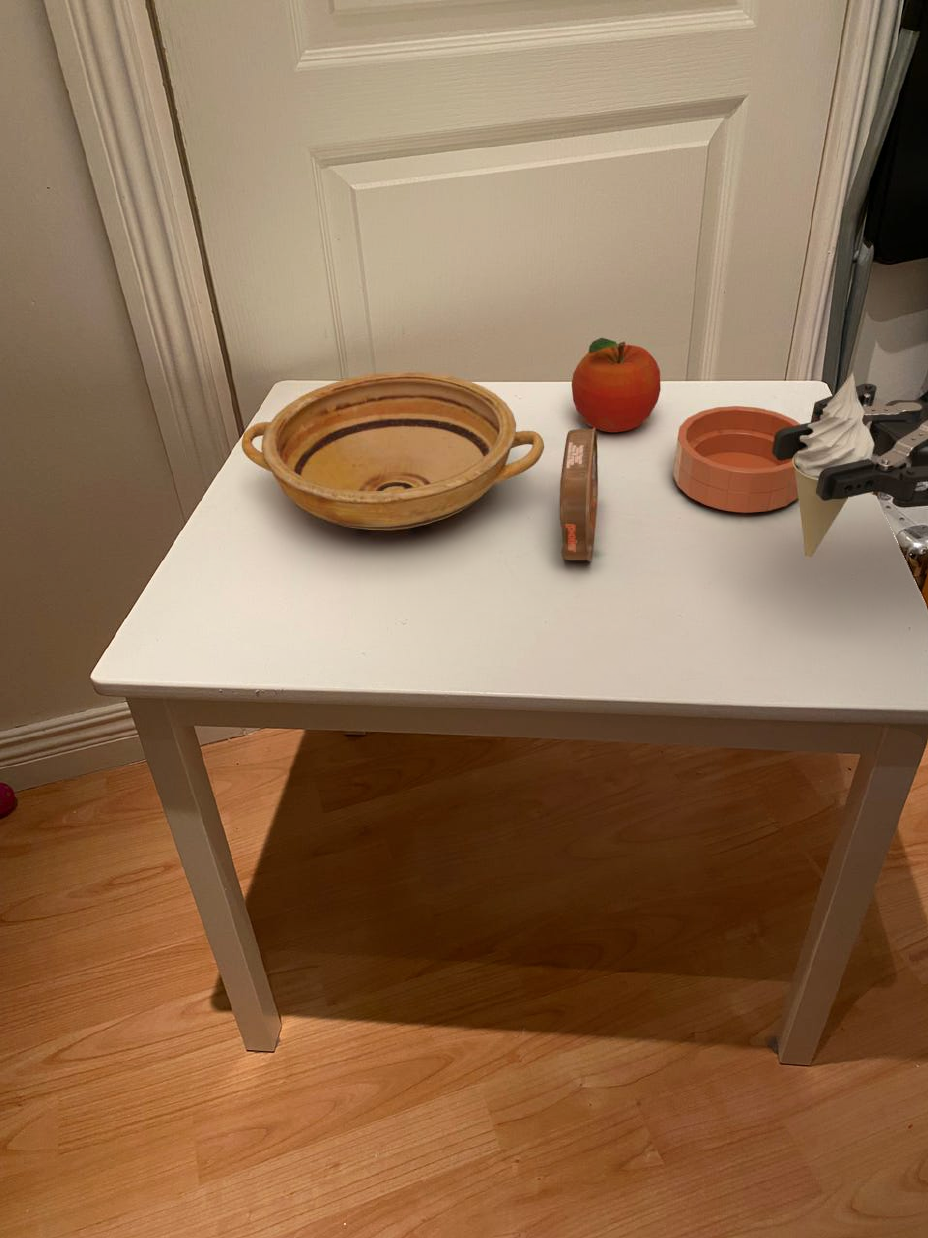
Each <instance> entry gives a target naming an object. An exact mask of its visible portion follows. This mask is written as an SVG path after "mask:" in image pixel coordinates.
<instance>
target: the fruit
mask: <svg viewBox="0 0 928 1238" xmlns="http://www.w3.org/2000/svg"><path fill="white" fill-rule="evenodd" d="M661 385H662V384H661V370H660V367H659V365H658V361H656V359H655V358H654V356H653V355H652V354H651V353H650V352H649V351H648V350H647V349H645V348H643V347H642V346H637V345H632V344H626V341H622V342H619V343H617V341H614V340H612V339H608V338H604V337H599V338H597V339H595V340H593V341H592V342H591V344H590V345H589V347H588V352H587V353H586V354H585V355H584V356H583V357H582V358H581V359H580V361H579V362H578V364H577V365H576V367H575V369H574V372H573V373H572V379H571V392H572V393H571V394H572V401H573V403H574V406H575V409H576V411H577V412H578V414H579V415H580V416H581V418H582V419H583V420H584V423H586V424H587V425H589V426H590V427H592V428H596V430H599V431H602V432H607V433H620V432H621V433H622V432H626V431H631V430H633V429H636V428H638V427H639V426H640V425H642V424H643V423H644V422H645V421H646V420H647V419H649V417H650V416H651V414H652V412H653V411H654V409H655V407H656V405H657V403H658V401H659V398H660V393H661V390H662V388H661V387H662V386H661Z"/></svg>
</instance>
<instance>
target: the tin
mask: <svg viewBox="0 0 928 1238" xmlns="http://www.w3.org/2000/svg"><path fill="white" fill-rule="evenodd" d="M563 451H564V452H563V457H562V466H561V473H560V483H559V498H558V499H559V503H558V505H559V508H558V509H559V512H558V513H559V523H560V528H561V537H562V538H561V539H562V549H561V556H562V558H563V559H564V560H567V561H588V562H592V560H593V554H594V546H595V537H596V536H595V533H596V523H597V515H598V514H597V513H598V495H599V476H598V475H599V470H598V469H599V468H598V467H599V465H598V459H599V457H598V434H597V429H596V428H594V427H592V428H581V429H580V428H579V429H578V428H577V429H571V430H570V429H569V431H568V432H567V435H566V439H565V444H564V450H563Z"/></svg>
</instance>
